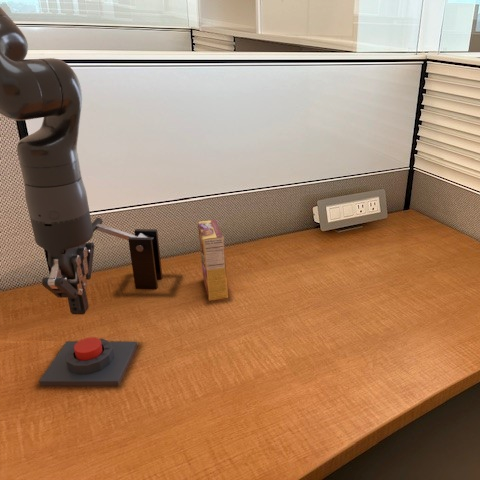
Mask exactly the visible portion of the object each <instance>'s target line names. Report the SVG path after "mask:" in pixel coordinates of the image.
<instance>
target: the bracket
mask: <svg viewBox="0 0 480 480" xmlns="http://www.w3.org/2000/svg"><path fill="white" fill-rule="evenodd" d="M133 232H134V235H135V236H138V235H139V234H140V233H142V234H145V235H148V236H151V237H153V241H152V238H144V237H130V238H129V239H128V240H127V242H128V247H129V253H130V254H129V255H130V261H131V268H132V269H131V270H132V275H133V281H134V288H135V290H157V289H158V288H159V287H158V286H159V285H158V281H159V280H160V281H161V280H163V268H162V260H161V259H162V258H161V251H160V243H159V234H158V228H157V229H155V228H154V229H153V228H135V229H134V231H133Z"/></svg>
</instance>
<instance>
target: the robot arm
mask: <svg viewBox="0 0 480 480" xmlns="http://www.w3.org/2000/svg"><path fill="white" fill-rule="evenodd" d="M28 51H29V44H28V40H27V37H26V36H25V34H24V33H23V31H22V30H21V29H20V28H19V27H18V25H17V24H16V23H15V22H14V21H13V19H12V18H11V17H10V16H9V15H8V14H7V13H6V11H5V10H4V9H3V8H2V7H1V6H0V115H1V116H3V117H5V118H7V119H10V120H13V121H22V122H23V121H29V120H35V119H41V118H43V120H42V124H41V126H40V128H39V129H38V130H36V131H35V132H33V133H30V134H29V135H26V136H24V137H22V138H21V139H20V140H19V141H18V142H17V145H16V153H17V159H18V163H19V166H20V171H21V176H22V179H23V185H24V195H25V196H24V197H25V202H26V203H25V204H26V207H27V211H28V216H29V219H30V224H31V228H32V233H33V236H34V237H33V238H34V241H35V244H36V245H37V246H38V247H40V248H42V249H44V250H45V251H46V252H47V264H48V266H49V268H50V273H49V277H45V276H44V277H43V278H42V280H41V284H42V286H43V287H44V288H45V289H46V290H48V291H49V292H50V293H52V294H53V295H54V296H55V297H57V298H61V299H62V298H67V302H68V307H69V311H70V314H72V315H77V316H78V315H79V316H80V315H81V316H83V315H85V314H86V313H87V311H89V307H90V305H89V301H88V296H87V288H88V281H89V280H91V278H92V272H93V271H92V269H93V261H94V253H95V243H94V242H90V241H91V239H92V238H93V237H94V232H93V229H92V218H91V213H90V207H89V206H90V205H89V201H88V194H87V191H86V187H85V184H84V181H83V177H82V171H81V166H80V161H79V153H78V141H79V133H80V132H79V131H80V124H81V123H80V122H81V115H82V114H81V113H82V107H83V93H82V88H81V87H82V86H81V82H80V80H79V78H78V76H77V74H76V72H75V71H74V69H73V68H72V67H71V66H70V65H69V64H68V63H67V62H65V61H64V60H61V59H59V58H55V57H53V58H52V57H50V58H49V57H47V58H45V57H44V58H31V59H30V58H29V59H25V58H26V57H27V55H28Z"/></svg>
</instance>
